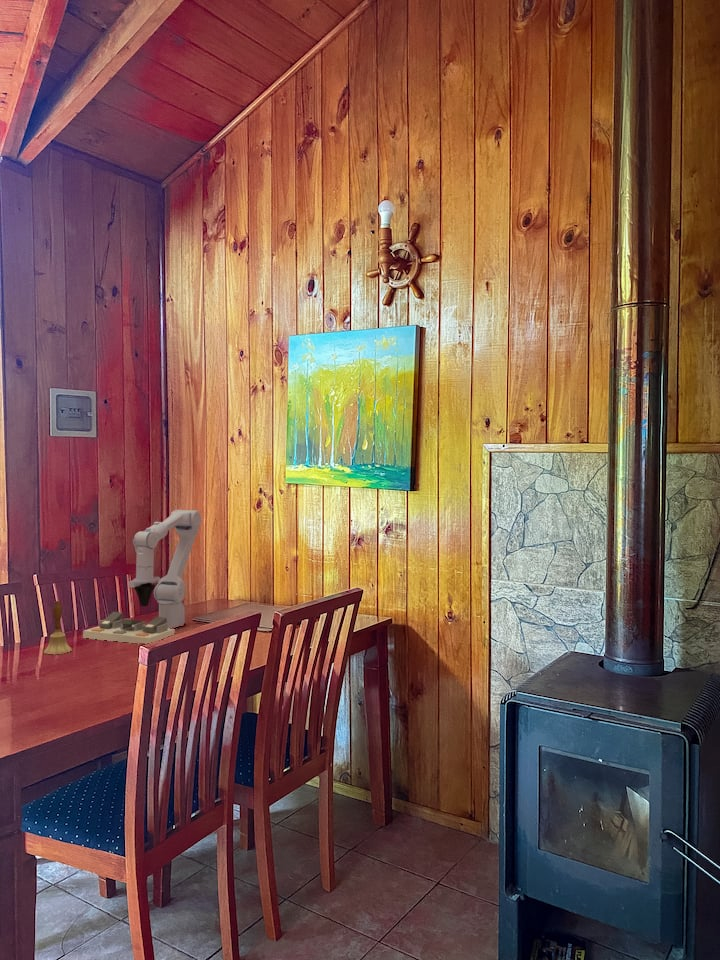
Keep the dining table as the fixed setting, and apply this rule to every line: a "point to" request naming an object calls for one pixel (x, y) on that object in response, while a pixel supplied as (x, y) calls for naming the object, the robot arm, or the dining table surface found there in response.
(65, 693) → the dining table surface
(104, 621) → the rocker
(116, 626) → the switch panel
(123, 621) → the rocker middle
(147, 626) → the block
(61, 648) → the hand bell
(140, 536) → the robot arm
